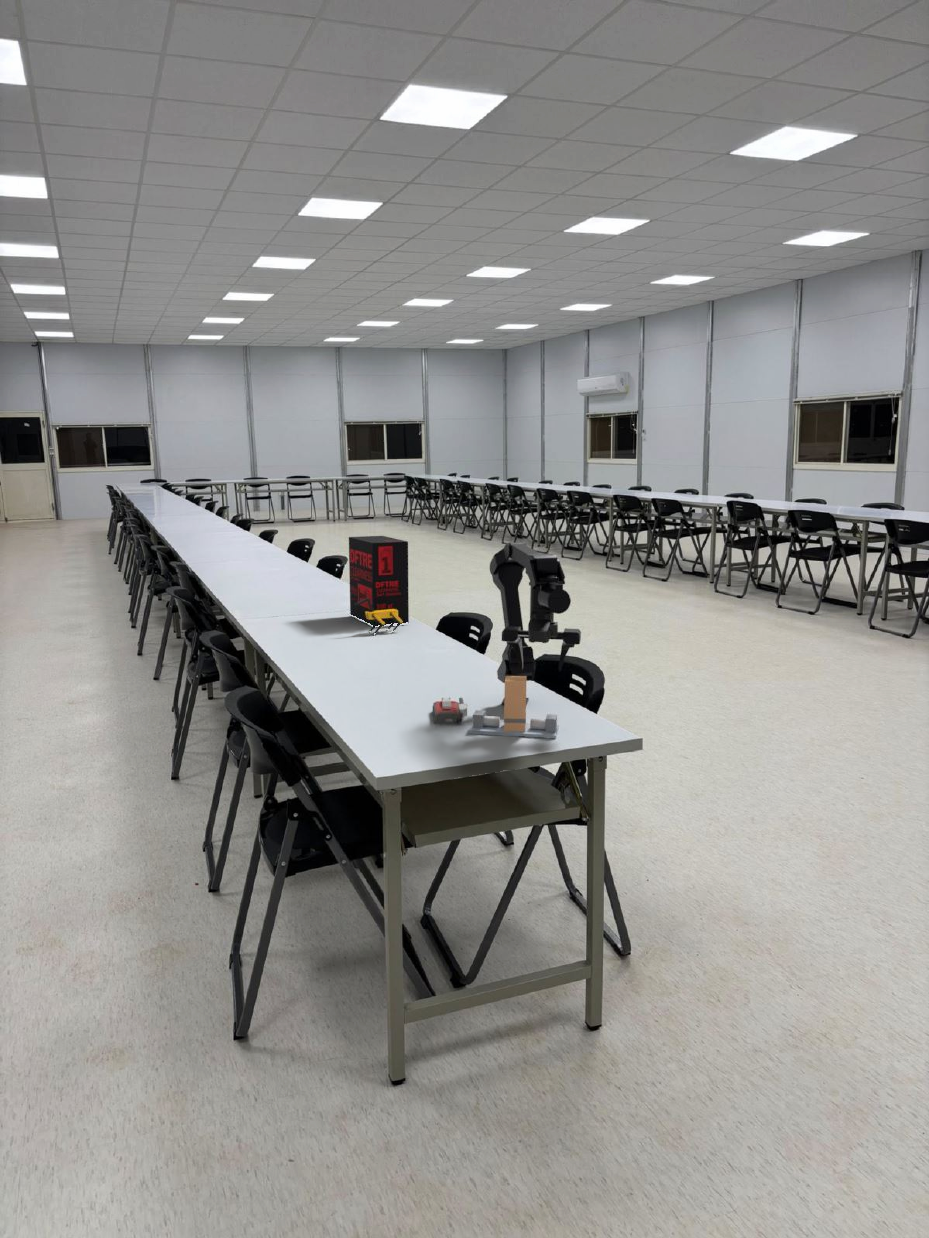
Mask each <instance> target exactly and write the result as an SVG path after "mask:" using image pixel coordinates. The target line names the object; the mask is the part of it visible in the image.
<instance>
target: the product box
mask: <svg viewBox="0 0 929 1238" xmlns="http://www.w3.org/2000/svg"><path fill="white" fill-rule="evenodd" d="M348 560H349V561H348V563H349V564H348V566H349V568H348V569H349V571H348V572H349V573H348V574H349V614H351V615H353V616H356V617H357V618H359V619H362V620H364V621H365V622H367V623H370V624H371V625H373V626H374V625H375V624H376V622H375V621H374V620H373V619H372V620H369V619H367V618H366V614H365V612H366V611H369V609H370V607H369V605H368V602H367V601H366V602H364V603H362V604H360V605H357V606H355V605H354V604H355V603H358V602H360V601H362V600H364V599H366V598H369V600H370V602H371V604H372V607H373V608H374V611H376V610H387V609H396V610H398V617H399V618H400V619H401V620H402V621H403V623H406V622H408V623H409V621H410V620H409V619H410V618H409V617H410V615H409V613H410V612H409V541H407V540H403V539H399V538H398V539H397V538H395V537H389V536H386V535H369V536H366V535H365V536H364V535H363V536H349V537H348ZM381 620H382V621H384V623H385V625H386V624H391V623H393V621H394V620H393V619H392V618H382V619H381ZM395 623H399V622H398V621H397V622H395ZM378 625H381V624H380V623H379V624H377V625H376V626H378Z"/></svg>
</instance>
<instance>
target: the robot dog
mask: <svg viewBox="0 0 929 1238" xmlns="http://www.w3.org/2000/svg"><path fill="white" fill-rule="evenodd" d="M366 601H367V602H368V605H369V607H370V609H369V611H366V612H365V614H366V618H367V619H369V620H372V619H373V620H374V621H375V622H376V624H375V625H374V626H373V627H371V628H370V629H369V631H371V632H372V631H373V630H374V629H376V630H374V632H373V633H376V634H377V633H378V632H379V630H380V629H381V628H383V627H382V626H384V625H385V623H384V621H382V620H381V619H382V618H392V619H393V620H394V621H393V623H392V624H391V625H390V626H389V627H387V629H389V630H391V628H392V627H394V628H393V629H392V630H393V631H394V630H395V631H396V629H398V627H400V626H399V625H400V624H402V623H403V621H402V620H401V619H400V618H399V617H398V610H396V609H387V610H376V611H374V608H373V607H372V604H371V602H370V600H369V598H366V599H364V600H362V601H360V602H358V603H355V604H354V605H355V606H357V605H360V604H362V603H364V602H366ZM397 621H398V622H399V623H398V624H397V626H393V624H394V623H395V622H397ZM379 623H380V624H381V625H380V626H379V627H378V628H375V626H376V625H377V624H379ZM395 631H394V632H395Z"/></svg>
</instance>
